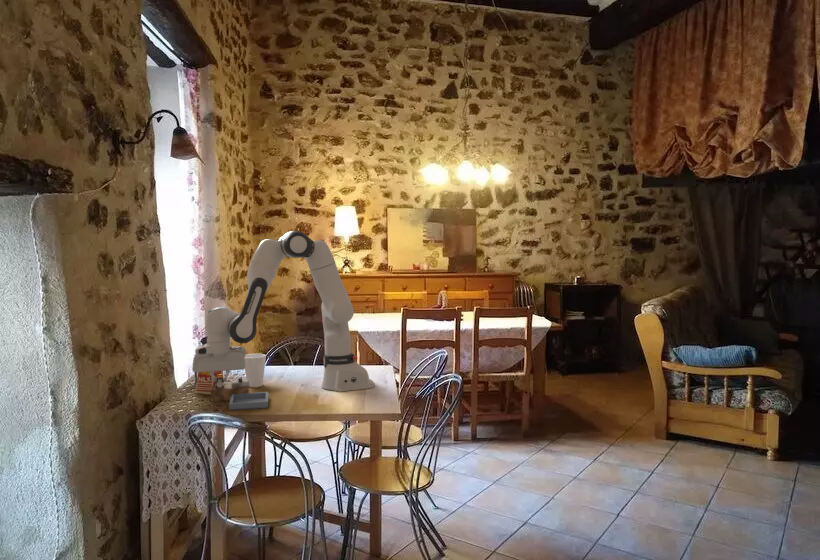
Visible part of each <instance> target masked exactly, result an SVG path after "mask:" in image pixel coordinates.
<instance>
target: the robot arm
mask: <svg viewBox="0 0 820 560" xmlns="http://www.w3.org/2000/svg"><path fill="white" fill-rule="evenodd" d="M285 258H290V259H291V258H292V259H299V258H301V259H302V258H303V259H305V261H306V263H307V266H308V269H309V272H310V275H311V277H312V280H313V283H314V286H315V289H316V290H317V292H318V295H319V297H320V299H321V305H320V309H321V317H322V318H321V320H322V326H323V336H324V338H323V339H324V354H323V367H324V369H323V370H324V371H323V379H322V384H321V388H322V389H325V390H329V391H335V392H340V393H341V392H350V391H357V390H366V389H372V388H374V387H375V382H374V381H373V380H372V379H370V376H369V373H368V370H367V369H366V368H365V367H364V366H362V365H361V364H360V363H358V362H356V361H357V360H358V356H357V355H356V354H354V353H353V352H351V351H352V349H351V346H352V345H351V333H350V332H351V331H350V327H349V326H350V325H349V322H350V321H351V320H352V318H353V317H354V314H355V309H354V307H353V304H352V301H351V298H350V296H349V294H348V292H347V290H346V287H345V286H344V283H343V281H342V278H341V275H340V273H339V270H338V267H337V263H336V261H335V258H334V256H333V253H332V251H331V249H330V247H329V245H328V243H327V242H326V241H324V240H321V239H315V240H313V239H311V238H310V237H309V236H308V235H307V234H306V233H305V232H303V231H301V230H300V231H299V230H291V231H288V232H285V233H284V234H282V235H281V236H280V237H279V238H277V239H272V238H267V239H263V240H262V241H261V242H260V243H259V244H258V246H257V248H256V249H255V251H254V253H253V255H252V257H251V261H250V263H249V265H248V269H247V274H246V281H247V294H246V297H245V300H244V303H243V306H242V308H241V311H240V312H237V311H234V310H232V309H230V308H228V307H227V306H216V307H213V308H211V309H209V310H208V311H207V314H206V322H205V328H206V333H207V338H206V343H205V344H202V345H201V344H200V345H199V346H197V347H195V351H194V353H195V355H194V356H193V359H192V371H193V372H194V373H198V372H210V375H211V377H212V378H213V382H217V377H215V376H214V375H213V374H214V371H222V372H225V376H223V382H224V383H225V382H226V383H227V382H228V376H229V374H230V371H241V370H242V371H243V370H245V367H246V362H245V356H246V355H247V350H246V348H245V347H242V346H231V339H232V340H233V341H234V342H236V343H239V344H246V343H249V342H251V341H253V339H254V338H255V337H256V335H257V332H258V331H257V330H258V328H257V319H258V315H259V312H260V309H261V307H262V305H263V304H262V303H263V300H264V299H265V295H266V294H267V291H268V290H269V288H270V286H271V285H272V283H273V281H274V279H275V277H276V275H277V272H278V269H279V268H280V264H281V262H282V260H283V259H285Z"/></svg>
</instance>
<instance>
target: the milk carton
mask: <svg viewBox="0 0 820 560" xmlns="http://www.w3.org/2000/svg"><path fill="white" fill-rule="evenodd" d="M223 372H224V371H214V374H213V375H214V376H215V377H217V374H223V375H224V373H223ZM223 384H225V382H223ZM195 385H196V386H195V390H194V391H195V394H200V395H201V394H203V395H211V389H212V386H213V385H217V382H213V378H212V377H211V375H210V372H197V378H196V384H195Z"/></svg>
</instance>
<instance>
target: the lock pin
mask: <svg viewBox="0 0 820 560" xmlns="http://www.w3.org/2000/svg"><path fill="white" fill-rule="evenodd" d="M223 377H224V373H223V374H217V388H224V387H223Z"/></svg>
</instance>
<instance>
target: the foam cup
mask: <svg viewBox="0 0 820 560" xmlns="http://www.w3.org/2000/svg"><path fill="white" fill-rule="evenodd" d="M266 358H267V357H266V354H263V353H246V356H245V362H246V367H245V369H244V372H245V380H249V386H250V387H249V388H259V387H258V386H260V387H262V386H263V383H264V378H265V377H264V376H265V367H266V360H267V359H266ZM261 385H262V386H261Z"/></svg>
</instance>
